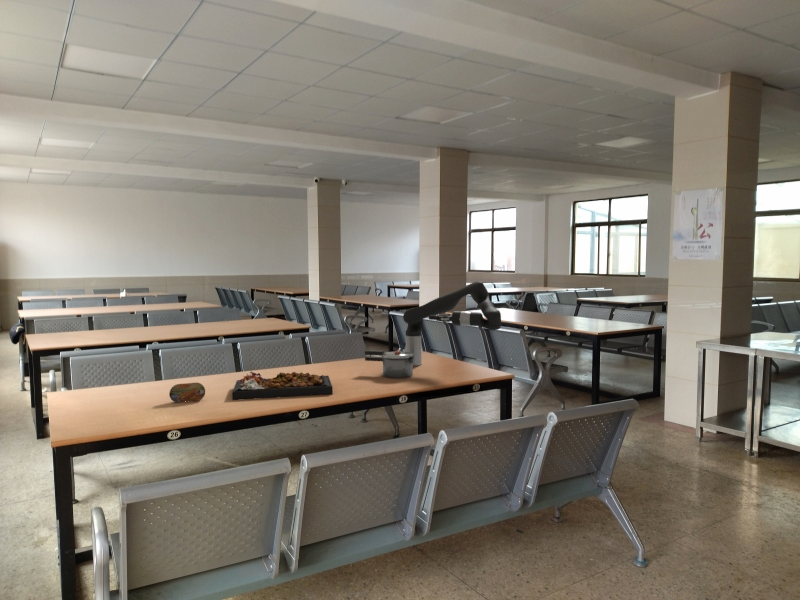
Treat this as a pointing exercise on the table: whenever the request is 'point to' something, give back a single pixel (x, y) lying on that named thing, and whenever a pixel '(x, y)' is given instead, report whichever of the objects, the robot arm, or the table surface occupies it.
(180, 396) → the tin
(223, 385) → the table surface
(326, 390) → the food platter
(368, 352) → the cooker lid
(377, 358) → the cooker pot
